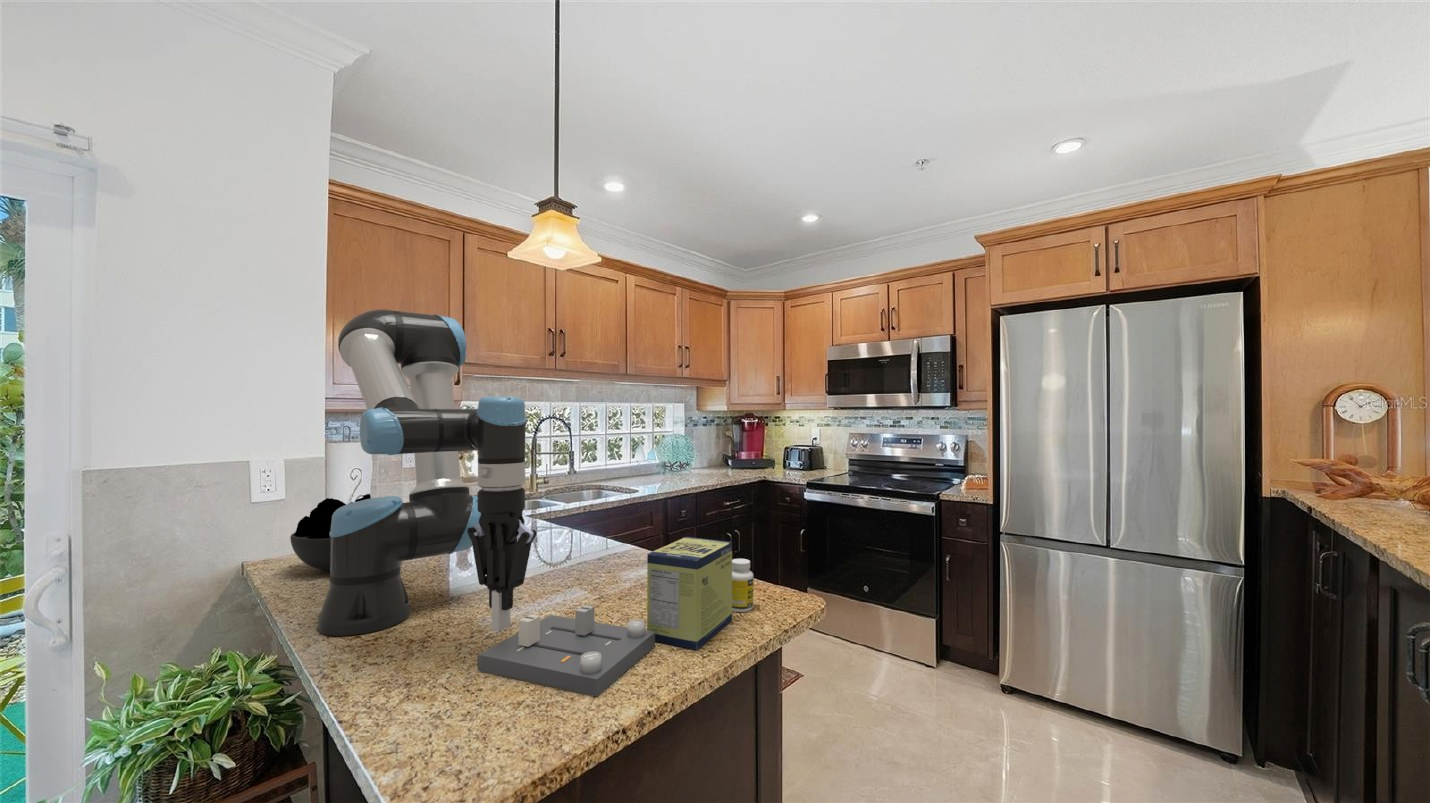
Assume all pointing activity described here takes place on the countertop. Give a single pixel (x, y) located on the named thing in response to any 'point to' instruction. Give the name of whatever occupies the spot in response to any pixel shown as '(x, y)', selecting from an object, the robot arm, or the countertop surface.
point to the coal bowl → (317, 534)
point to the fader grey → (584, 620)
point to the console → (571, 655)
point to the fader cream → (529, 630)
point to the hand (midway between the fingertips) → (500, 627)
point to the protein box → (689, 591)
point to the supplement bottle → (742, 586)
